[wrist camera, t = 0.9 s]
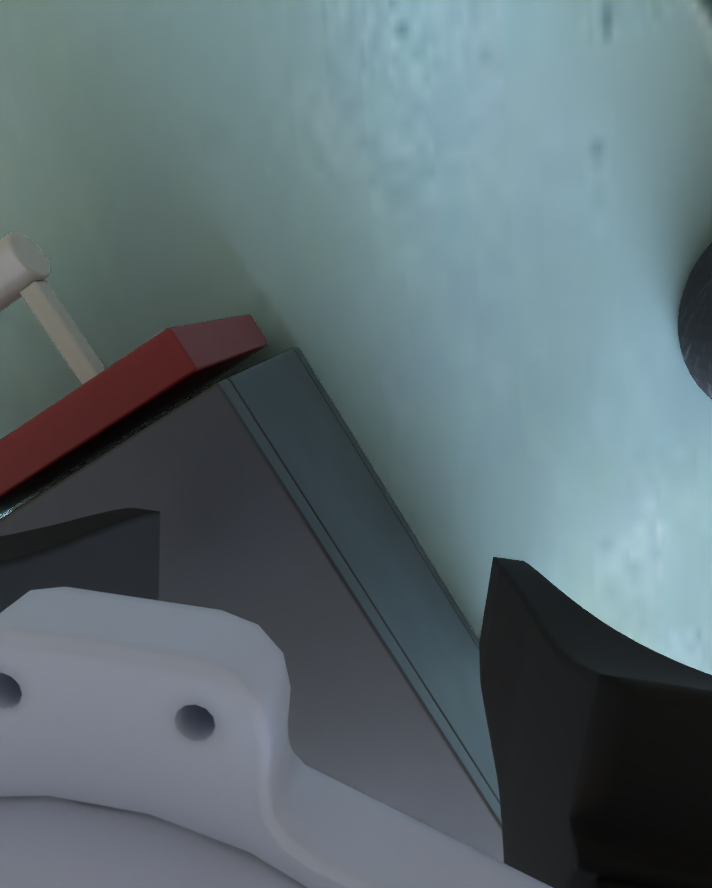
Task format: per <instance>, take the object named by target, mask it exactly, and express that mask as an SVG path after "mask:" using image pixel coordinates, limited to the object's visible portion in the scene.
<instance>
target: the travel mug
mask: <svg viewBox="0 0 712 888" xmlns="http://www.w3.org/2000/svg"><path fill="white" fill-rule="evenodd" d="M678 335H679V341H680V348H681V351H682V354H683V358H684V361H685V363H686V365H687V367H688V369H689V372H690V374H691V375H692V377H693V378H694V380H695V381H696V383H697V384H698V386H699V387H700V388H701V389H702V390H703V391H704V392H705V393H706V395H707V396H709V397H710V398H711V399H712V243H711V244H710V246H709V247H708V248H707V249H706V250H705V252H704V253H703V254H702V256H701V257H700V259H699V260H698V261H697V263H696V265H695V267H694V269H693V270H692V272H691V274H690V276H689V278H688V281H687V283H686V286H685V288H684V291H683V295H682V299H681V303H680V308H679V316H678Z"/></svg>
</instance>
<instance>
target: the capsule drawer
mask: <svg viewBox="0 0 712 888" xmlns="http://www.w3.org/2000/svg"><path fill="white" fill-rule="evenodd" d="M50 272H51V267H50V264H49V261H48V259H47V258H46V256H45V254H44V253H43V252H42V250H41V249H40V248H39V247H38V246H37V245H36V244H35V243H34V242H33V241H32V240H31V239H29V238H28V237H26V236H25V235H23V234H21V233H18V232H11V233H8V234H7V235H5V236H4V237H3V238H2V239H0V312H1V311H2V310H3V309H5V308H6V307H8V306H9V305H10V304H12V303H13V302H14V301H16V300H17V299H18V298H20V297H21V296H22V297H23V298H24V300H25V301H26V303H27V304H28V306H29V307H30V309H31V310H32V312H33V313H34V315H35V316H36V318H37V319H38V321H39V322H40V324H41V325H42V327H43V328H44V329H45V331H46V332H47V334H48V335H49V337H50V338H51V340H52V341H53V343H54V344H55V346H56V347H57V349H58V350H59V352H60V353H61V355H62V356H63V357H64V359H65V360H66V362H67V363H68V365H69V366H70V368H71V369H72V371H73V372H74V374H75V375H76V377H77V378H78V380H79V381H80V383H81V384H82V385H81V386H80V387H78V388H77V389H75V390H74V391H72V392H71V393H69V394H68V395H66V396H65V397H63V398H62V399H60V400H59V401H57V402H56V403H54V404H53V405H51V406H50V407H49V408H47V409H46V410H44V411H43V412H41V413H40V414H38V415H37V416H35V417H34V418H32V419H31V420H29V421H28V422H26V423H25V424H23V425H22V426H20V427H19V428H17V429H16V430H14V431H13V432H11V433H10V434H8V435H7V436H5V437H4V438H2V439H1V440H0V514H2V513H4V512H5V511H7V510H8V509H10V508H12V507H13V506H15V505H16V504H18V503H20V502H21V501H23V500H24V499H26V498H27V497H29V496H31V495H32V494H34V493H35V492H37V491H39V490H40V489H42V488H43V487H45V486H46V485H48V484H50V483H51V482H53V481H54V480H56V479H57V478H59V477H61V476H62V475H64V474H65V473H67V472H69V471H70V470H72V469H73V468H75V467H76V466H78V465H80V464H81V463H83V462H84V461H86V460H88V459H89V458H91V457H92V456H94V455H95V454H97V453H99V452H100V451H102V450H103V449H105V448H106V447H108V446H110V445H111V444H113V443H114V442H116V441H118V440H119V439H121V438H122V437H124V436H125V435H127V434H129V433H130V432H132V431H133V430H135V429H137V428H138V427H140V426H141V425H143V424H144V423H146V422H148V421H149V420H151V419H152V418H154V417H155V416H157V415H159V414H160V413H162V412H163V411H165V410H167V409H168V408H170V407H171V406H173V405H174V404H176V403H178V402H179V401H181V400H182V399H184V398H186V397H187V396H189V395H190V394H192V393H193V392H195V391H197V390H198V389H200V388H201V387H203V386H204V385H206V384H208V383H209V382H211V381H212V380H214V379H216V378H217V377H219V376H220V375H222V374H223V373H225V372H227V371H228V370H230V369H231V368H233V367H235V366H236V365H238V364H239V363H241V362H242V361H244V360H246V359H247V358H249V357H250V356H252V355H253V354H255V353H257V352H258V351H260V350H261V349H263V348H265V347H266V346H267V345H268V342H267V340H266V338H265V337H264V335H263V334H262V332H261V330H260V329H259V327H258V326H257V324H256V322H255V321H254V319H253V317H252V316H251V315H250V314H248V315H242V316H236V317H230V318H224V319H218V320H213V321H207V322H201V323H195V324H189V325H183V326H177V327H171V328H167V329H165V330H164V331H162V332H161V333H159V334H158V335H156V336H155V337H153V338H152V339H150V340H149V341H147V342H146V343H144V344H143V345H141V346H140V347H138V348H137V349H135V350H134V351H132V352H131V353H129V354H128V355H126V356H125V357H123V358H122V359H120V360H119V361H117V362H116V363H114V364H113V365H111V366H110V367H108V368H107V369H105V367H104V366H103V364H102V363H101V361H100V360H99V358H98V357H97V355H96V354H95V352H94V351H93V349H92V348H91V346H90V345H89V343H88V342H87V340H86V339H85V337H84V336H83V334H82V333H81V331H80V330H79V328H78V327H77V325H76V324H75V322H74V321H73V319H72V318H71V316H70V315H69V313H68V312H67V310H66V309H65V307H64V306H63V304H62V303H61V301H60V300H59V298H58V297H57V295H56V294H55V292H54V291H53V289H52V288H51V286H50V285H49V283H48V282H47V281H43V280H44V279H46V278H47V277H48V276H49V275H50Z"/></svg>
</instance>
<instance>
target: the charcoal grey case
mask: <svg viewBox="0 0 712 888" xmlns="http://www.w3.org/2000/svg"><path fill="white" fill-rule="evenodd" d="M124 508H139V509H146V510H154V511H160V561H159V597H158V599H157V600H158V601H165V602H171V603H178V604H185V605H191V606H198V607H205V608H211V609H218V610H223V611H225V612H228V613H230V614H233V615H235V616H238V617H240V618H243V619H245V620H248V621H250V622H253V623H255V624H258V625H259V626H260V627H261V628H262V630H263V631H264V632H265V633H266V634H267V635H268V636H269V638H270V639H271V640H272V641H273V642H274V643H275V644H276V645H277V647H278V648H279V649H280V650H281V651H282V652H283V654H284V658H285V663H286V668H287V672H288V677H289V682H290V687H291V691H290V703H289V716H288V733H289V742H290V744H291V747H292V750H293V752H294V753H295V754H296V755H297V756H298V758H299V759H300V760H301V761H302V762H303V763H304V764H305V765H307V766H309V767H311V768H313V769H315V770H317V771H319V772H321V773H323V774H325V775H327V776H329V777H331V778H333V779H335V780H337V781H339V782H341V783H343V784H345V785H347V786H349V787H351V788H353V789H355V790H357V791H359V792H361V793H363V794H365V795H367V796H369V797H371V798H373V799H375V800H377V801H379V802H381V803H383V804H385V805H387V806H389V807H391V808H393V809H395V810H397V811H399V812H401V813H403V814H405V815H408V816H410V817H412V818H414V819H416V820H418V821H420V822H422V823H424V824H426V825H428V826H430V827H432V828H434V829H436V830H438V831H440V832H442V833H444V834H446V835H448V836H450V837H452V838H454V839H456V840H458V841H460V842H462V843H464V844H466V845H468V846H470V847H472V848H474V849H476V850H478V851H480V852H482V853H484V854H486V855H488V856H490V857H492V858H494V859H496V860H498V861H500V862H502V863H504V855H503V838H502V823H501V809H500V796H499V788H498V780H497V774H496V768H495V763H494V757H493V752H492V746H491V741H490V735H489V730H488V725H487V719H486V714H485V708H484V702H483V697H482V691H481V685H480V659H479V640H478V638H477V637H476V635H475V633H474V632H473V630H472V629H471V627H470V625H469V624H468V622H467V620H466V619H465V617H464V616H463V614H462V612H461V611H460V609H459V607H458V606H457V604H456V603H455V601H454V599H453V598H452V596H451V594H450V593H449V591H448V589H447V588H446V586H445V585H444V583H443V581H442V580H441V578H440V576H439V575H438V573H437V572H436V570H435V568H434V567H433V565H432V563H431V562H430V560H429V559H428V557H427V555H426V554H425V552H424V550H423V549H422V547H421V546H420V544H419V542H418V541H417V539H416V537H415V536H414V534H413V533H412V531H411V529H410V528H409V526H408V524H407V523H406V521H405V520H404V518H403V516H402V515H401V513H400V511H399V510H398V508H397V506H396V505H395V503H394V502H393V500H392V498H391V497H390V495H389V493H388V492H387V490H386V489H385V487H384V485H383V484H382V482H381V480H380V479H379V477H378V476H377V474H376V472H375V471H374V469H373V467H372V466H371V464H370V463H369V461H368V459H367V458H366V456H365V454H364V453H363V451H362V450H361V448H360V446H359V445H358V443H357V441H356V440H355V438H354V436H353V435H352V433H351V432H350V430H349V428H348V427H347V425H346V423H345V422H344V420H343V419H342V417H341V415H340V414H339V412H338V410H337V409H336V407H335V406H334V404H333V402H332V401H331V399H330V397H329V396H328V394H327V393H326V391H325V389H324V388H323V386H322V384H321V383H320V381H319V380H318V378H317V376H316V375H315V373H314V371H313V370H312V368H311V366H310V365H309V363H308V362H307V360H306V358H305V357H304V355H303V353H302V352H301V350H300V349H299V348H298V347H294V348H292V349H290V350H288V351H285V352H283V353H281V354H279V355H277V356H274V357H272V358H270V359H268V360H266V361H263V362H261V363H259V364H257V365H255V366H252V367H250V368H248V369H246V370H244V371H241V372H239V373H237V374H235V375H233V376H230V377H228V378H226V379H224V380H222V381H220V382H218V383H215V384H214V385H212V386H211V387H209V388H207V389H206V390H204V391H203V392H201V393H199V394H198V395H196V396H195V397H193V398H192V399H190V400H188V401H187V402H185V403H184V404H182V405H180V406H179V407H177V408H176V409H174V410H172V411H171V412H169V413H168V414H166V415H165V416H163V417H161V418H160V419H158V420H157V421H155V422H153V423H152V424H150V425H149V426H147V427H146V428H144V429H142V430H141V431H139V432H138V433H136V434H134V435H133V436H131V437H130V438H128V439H126V440H125V441H123V442H122V443H120V444H119V445H117V446H115V447H114V448H112V449H111V450H109V451H107V452H106V453H104V454H103V455H101V456H100V457H98V458H96V459H95V460H93V461H92V462H90V463H88V464H87V465H85V466H84V467H82V468H80V469H79V470H77V471H76V472H74V473H73V474H71V475H69V476H68V477H66V478H65V479H63V480H61V481H60V482H58V483H57V484H55V485H54V486H52V487H50V488H49V489H47V490H46V491H44V492H42V493H41V494H39V495H38V496H36V497H34V498H33V499H31V500H30V501H28V502H27V503H25V504H23V505H22V506H20V507H19V508H17V509H15V510H14V511H12V512H11V513H9V514H8V515H6V516H4V517H3V518H1V519H0V536H4V535H10V534H14V533H19V532H23V531H28V530H32V529H37V528H41V527H46V526H50V525H55V524H59V523H63V522H67V521H70V520H74V519H78V518H82V517H86V516H90V515H94V514H99V513H103V512H107V511H112V510H117V509H124Z"/></svg>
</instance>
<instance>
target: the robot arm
mask: <svg viewBox="0 0 712 888" xmlns="http://www.w3.org/2000/svg"><path fill="white" fill-rule="evenodd" d="M159 561H160V511H154V510H146V509H139V508H124V509H117V510H112V511H107V512H103V513H99V514H94V515H90V516H86V517H82V518H78V519H74V520H70V521H67V522H63V523H59V524H55V525H50V526H46V527H41V528H37V529H32V530H28V531H23V532H19V533H14V534H10V535H4V536H0V888H712V675H710V674H707V673H704V672H702V671H699V670H696V669H694V668H691V667H689V666H686V665H684V664H681V663H679V662H677V661H675V660H673V659H670V658H668V657H666V656H664V655H662V654H659V653H657V652H655V651H653V650H651V649H649V648H647V647H645V646H643V645H641V644H639V643H637V642H635V641H634V640H632V639H630V638H628V637H627V636H625V635H623V634H622V633H620V632H618V631H616V630H615V629H613V628H611V627H610V626H608V625H607V624H605V623H603V622H602V621H600V620H599V619H598V618H596V617H595V616H593V615H592V614H591V613H589V612H588V611H586V610H585V609H583V608H582V607H581V606H579V605H578V604H577V603H576V602H574V601H573V600H572V599H570V598H569V597H568V596H567V595H565V594H564V593H563V592H562V591H560V590H559V589H558V588H557V587H556V586H554V585H553V584H552V583H551V582H550V581H548V580H547V579H546V578H545V577H544V576H543V575H541V574H540V573H539V572H538V571H537V570H535V569H534V568H533V567H532V566H530V565H529V564H527V563H526V562H524V561H520V560H512V559H505V558H498V557H493V562H492V568H491V574H490V580H489V587H488V593H487V599H486V605H485V611H484V617H483V624H482V630H481V636H480V642H479V659H480V685H481V691H482V697H483V702H484V708H485V714H486V719H487V725H488V730H489V735H490V741H491V746H492V752H493V757H494V763H495V768H496V774H497V780H498V788H499V796H500V809H501V823H502V838H503V855H504V863H502V862H500V861H498V860H496V859H494V858H492V857H490V856H488V855H486V854H484V853H482V852H480V851H478V850H476V849H474V848H472V847H470V846H468V845H466V844H464V843H462V842H460V841H458V840H456V839H454V838H452V837H450V836H448V835H446V834H444V833H442V832H440V831H438V830H436V829H434V828H432V827H430V826H428V825H426V824H424V823H422V822H420V821H418V820H416V819H414V818H412V817H410V816H408V815H405V814H403V813H401V812H399V811H397V810H395V809H393V808H391V807H389V806H387V805H385V804H383V803H381V802H379V801H377V800H375V799H373V798H371V797H369V796H367V795H365V794H363V793H361V792H359V791H357V790H355V789H353V788H351V787H349V786H347V785H345V784H343V783H341V782H339V781H337V780H335V779H333V778H331V777H329V776H327V775H325V774H323V773H321V772H319V771H317V770H315V769H313V768H311V767H309V766H307V765H305V764H304V763H303V762H302V761H301V760H300V759H299V758H298V756H297V755H296V754H295V753H294V752H293V750H292V747H291V744H290V742H289V733H288V716H289V703H290V691H291V687H290V682H289V677H288V672H287V668H286V663H285V658H284V654H283V652H282V651H281V650H280V649H279V648H278V647H277V645H276V644H275V643H274V642H273V641H272V640H271V639H270V638H269V636H268V635H267V634H266V633H265V632H264V631H263V630H262V628H261V627H260V626H259V625H258V624H255V623H253V622H250V621H248V620H245V619H243V618H240V617H238V616H235V615H233V614H230V613H228V612H225V611H223V610H218V609H211V608H205V607H198V606H191V605H185V604H178V603H171V602H165V601H158V600H157V599H158V597H159Z"/></svg>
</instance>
